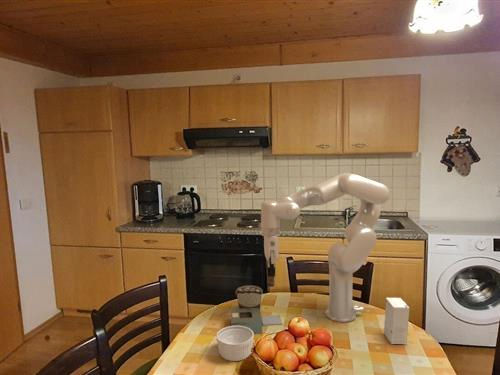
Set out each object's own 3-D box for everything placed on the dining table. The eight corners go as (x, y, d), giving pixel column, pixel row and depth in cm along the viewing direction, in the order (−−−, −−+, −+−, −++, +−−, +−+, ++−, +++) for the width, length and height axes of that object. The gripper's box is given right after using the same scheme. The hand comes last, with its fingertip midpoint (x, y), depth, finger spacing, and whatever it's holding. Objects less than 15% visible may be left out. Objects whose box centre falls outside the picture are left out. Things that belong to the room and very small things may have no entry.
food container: (264, 306, 164) (263, 285, 162) (263, 312, 157) (263, 290, 156) (237, 305, 165) (237, 284, 164) (235, 311, 159) (235, 290, 158)
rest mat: (279, 315, 154) (279, 314, 154) (282, 324, 146) (282, 323, 146) (260, 316, 153) (260, 315, 153) (263, 325, 146) (263, 324, 145)
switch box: (259, 318, 151) (259, 307, 151) (262, 333, 140) (262, 320, 139) (230, 320, 150) (230, 308, 150) (231, 335, 139) (231, 322, 138)
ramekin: (212, 347, 130) (211, 329, 129) (245, 339, 135) (245, 322, 135) (224, 367, 118) (223, 348, 117) (260, 358, 123) (259, 338, 123)
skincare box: (383, 334, 138) (384, 296, 136) (399, 333, 138) (400, 296, 136) (391, 345, 129) (393, 306, 128) (408, 345, 129) (409, 306, 128)
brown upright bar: (273, 283, 150) (273, 253, 148) (274, 286, 147) (274, 255, 145) (266, 284, 150) (266, 253, 148) (267, 286, 147) (267, 256, 145)
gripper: (283, 235, 138) (283, 281, 140) (276, 226, 154) (276, 267, 156) (263, 236, 137) (264, 282, 139) (259, 227, 154) (259, 268, 155)
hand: (270, 274), depth 148 cm, fingers closed on brown upright bar, 3 cm apart
